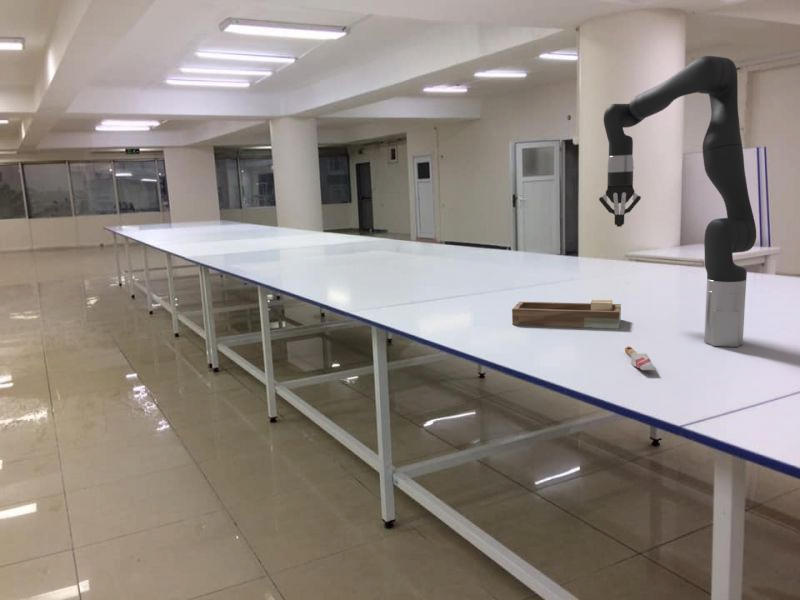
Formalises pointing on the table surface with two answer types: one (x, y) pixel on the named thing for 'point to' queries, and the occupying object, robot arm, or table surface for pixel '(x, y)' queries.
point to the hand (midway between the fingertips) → (619, 226)
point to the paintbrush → (639, 359)
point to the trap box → (565, 315)
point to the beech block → (601, 305)
